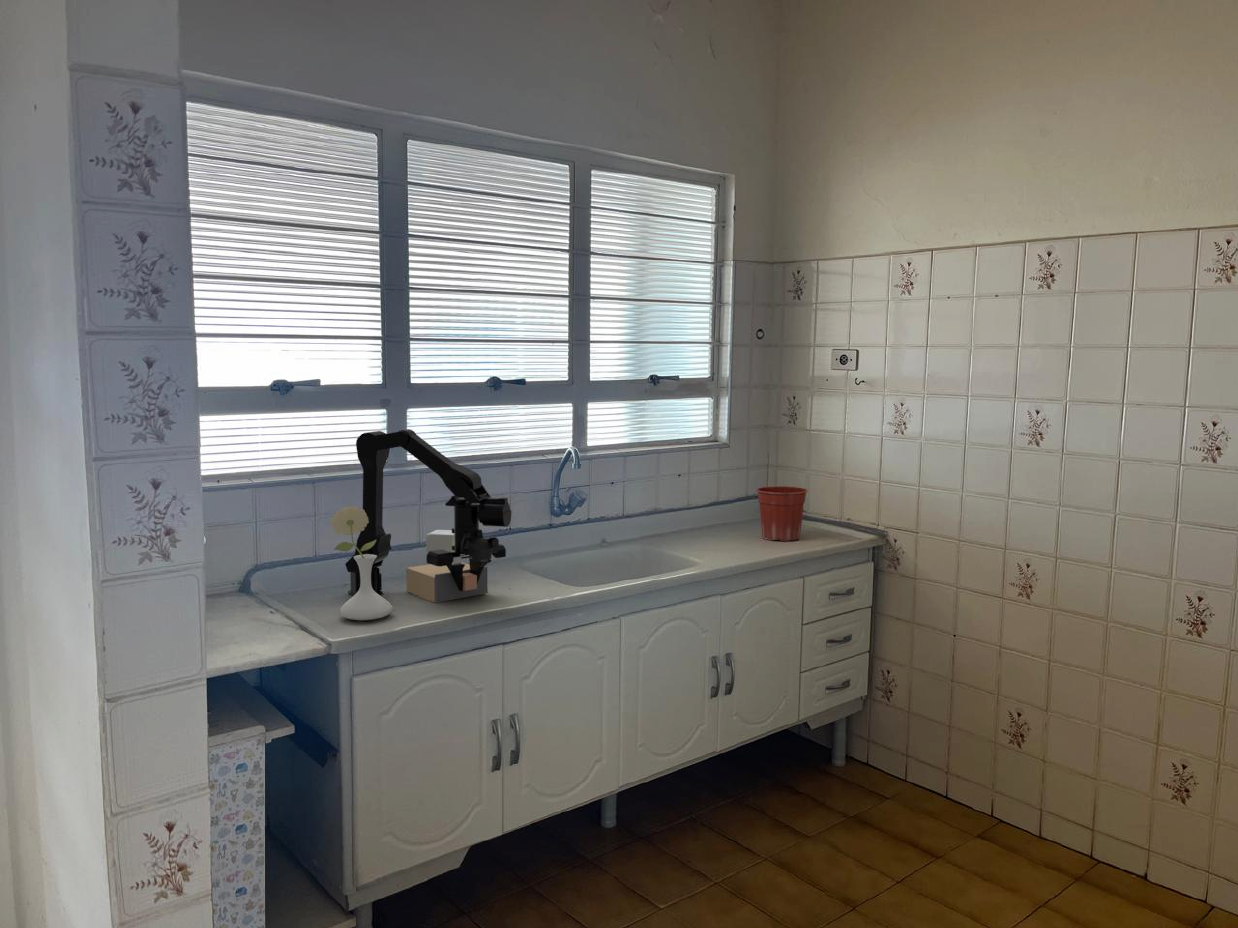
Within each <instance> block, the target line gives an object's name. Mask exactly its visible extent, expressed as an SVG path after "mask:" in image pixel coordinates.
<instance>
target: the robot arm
mask: <svg viewBox="0 0 1238 928" xmlns="http://www.w3.org/2000/svg"><path fill="white" fill-rule="evenodd" d="M355 441H356V442H355V448H356V454H357V459H358V461H359V463H360V465H361V468H362V510H364V511H365V513H366V516H367V517H368V521H369V523H368V524H367V526H366V527H364V528H365V529H364V530H363V531H360V533H358V537H357V539H356V542H355V543H356V544H355V545H356V547H357V548H358V549H359V550H360V552H361V553H362V555H363V554H372V555H376V556H377V557H376V559H375V560H374V562H373V565H372V569H371V585H372V588H373V590H374V591H375V592H376V593H377V594H378V595H383V594H384V591H382V590H383V589H382V588H383V584H382V583H383V582H382V580H383V579H382V576H383V575H382V573H380V572H381V571H380V569H381V568H379V567H381V566H383V562H384V560H385V559H386V558H387V557H388V555H389V553H390V551H391V550H392V546H391V538H392V534H391V533H386V532H385V530H384V526H383V513H384V511H383V509H384V507H383V506H384V504H383V503H384V468H385V466H386V463H387V461H388V458H389V456H390V450H391V449H395V448H403V449H404V450H405V451H406V452H407V453H409V454H410V455H411V456H413V457H414V458H416V460H418V461H419V462H420V463H422V464H423V465H425V466H426V467H427V468H428V469H430V470H431V471H433V473H435V474H437V476H438V477H439V478H440V479H441V480H442V482H443V484H444V486H445V487H446V488H447V489H448V490H449V492H451V493H452V494H453V495H452V496H451V497H450V499H449V500H447V501H446V502H445V506H446V507H453V511H454V512H453V513H454V514H453V516H454V517H453V518H454V519H453V521H454V522H453V523H454V524H453V525H454V527H453V528H451V530H452V533H455V545H454V546H452V550H454V551H455V552H449V551H445V550H434V551H429V552H428V554H427V556H425V557H426V559H427V563H429V564H432V565H435V566H447V567H448V569H449V571H450V572H451V574H452V576H453V578H454V581H455V583H456V585H457V587H458V589H459V591H463V568H464V566H465V564H466V563H465V564H462V563H463V562H462V563H461V559H462V560H463V559H469V560H468V561H469V565H470V573H471V574H474V575H477V584H478V581H479V578H480V575H481V572H482V570H483V568H484V567H486V565H488V564H489V563H492V556H493V557H494V558H495V559H501V558H506V557H507V548H506V547H505V545H504V544H500V542H499V539H498V537H497V536H496V537H495V536H493V537H488V538H484V535H483V534H484V533H483V529H480V524H482V525H483V526H484V527H501V528H503V527H505V528H508V527H509V525H510V523H511V522H512V521H511V520H512V510H511V505H510V503H509V502H508V501H509V500H508V499H509V498H508V497H505V496H503V497H492V496H491V495H490V493H489V492H488V490H487V489H486V488H485V486H484V485H483V484H482V483H483V482H482V478H481V476H480V475H479V474H478V473H477V472H475V470H472V469H470V468H468V467H466V466H464V465H461V464H458V463H456V462H454V461H452V460H451V459H449V458H448V457H447V456H445V455H444V454H443V453H441V452H440V451H439V450H437V448H434V446H432V445H431V444H429V443H428V442H426V441H425V440H424V439H423V438H422V437H420V436H419V435H418V434H417V433H416V432H415V431H414V430H413V429H409V428H407V429H402V430H398V431H395V432H389V433H385V432H384V431H382V430H377V431H368V432H364V433H362V434H360V435H359V436H358V437H357V439H356V440H355ZM374 540H376V542H375V544H374V545H373V546H372V547H371V548H370V549H368V550H364V551H361V548H362V547H363V546H364V545H365V544H367V543H370V542H372V541H374ZM354 548H355V547H354ZM356 555H361V554H360V553H359V552H358V550H357V549H356V548H355V549H354V554H353V555H352V556H351V557H350V558H349V559H348V561H347V562H345V563H344V564H345V568H346V571H347V572H348V573H349V575H350V577H349V578H350V590H348V591H347V593H348V595H352V597H353V596H354V595H355V594H356V593H357V592H358V591H359V589H360V584H361V579H360V570H359V566H358V564H357V562H356V560H355V559H354V558H353V557H354V556H356Z"/></svg>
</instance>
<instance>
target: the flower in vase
mask: <svg viewBox="0 0 1238 928" xmlns="http://www.w3.org/2000/svg"><path fill="white" fill-rule="evenodd" d="M368 523H369V521H368V517H367V516H366V513H365V511H364V510H363V509H359V507H358V506H354V507H353V506H352V505H350V506H348V507H346V506H343V507H342V508H341V509H338V510H337V511H335V513H334V515H333V516H332V519H331V520H330V524H331V527H332V528H334V529H333V530H334V532H336V533H337V534H344V535H345V536H351V542H348V541H342V542H340V543H338V544H337V545H336V546H335V547H334V550H335V551H341V552H349V551H350V550H352V549H353V547H354V548H356V549H357V550H358V552H359V553H360V554H361V555H356V556H354V557H353V558H354V559H355V560H356V562H357V564H358V566H359V570H360V579H361V584H360V589H359V591H358V592H357V593H356V594H355V595H354V596H353V595H352V597H350V598H349V599H348V600H347V601H346V602H345V603H343V605H342V606H341V607H340V610H339V614H340V615H341V616H342V617H343V618H345V619H349V620H354V621H370V620H371V621H372V620H377V619H381V618H384V617H387V616H388V615H390V614H391V613H392V611H393V610H394V609H393V606H392V603H390V602H389V601H388V600H387V599H385V598H384V597H383V596H382V595H381V594H379V595H378V594H377V593H376V592H375V591H374V590H373V588H372V585H371V569H372V565H373V562H374V560H375V559H376V557H377V556H376V555H372V554H363V555H362V553H361V552H360V550H359V549H358V548H357V547H356V544H355V543H356V542H354V541H355V540H354V534H360V533H359V532H361V531H363V530H364V529H365V528H364V527H366V526H367V524H368ZM375 542H376V540H374V541H372V542H370V543H367V544H365V545H364V546H363V547H362V548H361V551H364V550H368V549H370V548H371V547H372V546H373V545H374V544H375Z"/></svg>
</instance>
